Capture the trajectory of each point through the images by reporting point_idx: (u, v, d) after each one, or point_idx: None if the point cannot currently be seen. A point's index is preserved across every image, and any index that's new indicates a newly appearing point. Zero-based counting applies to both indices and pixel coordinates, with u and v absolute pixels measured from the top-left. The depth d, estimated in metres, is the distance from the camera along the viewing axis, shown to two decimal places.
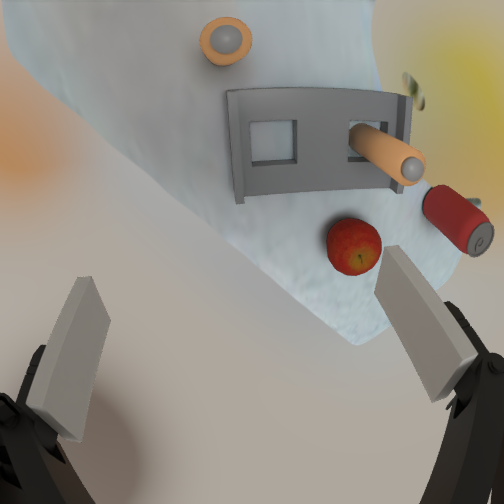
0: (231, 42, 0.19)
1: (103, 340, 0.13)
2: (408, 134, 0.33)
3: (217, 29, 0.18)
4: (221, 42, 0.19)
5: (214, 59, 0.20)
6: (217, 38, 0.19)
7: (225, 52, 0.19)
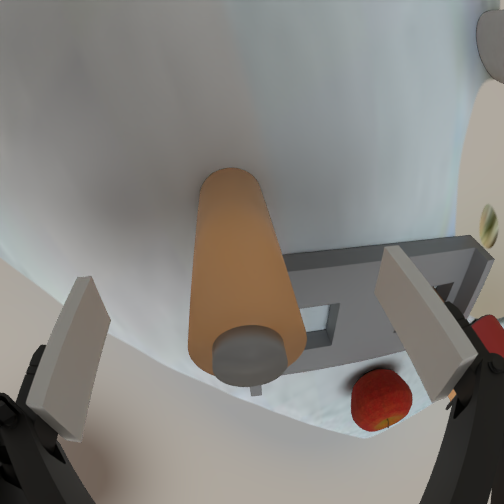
0: (262, 372, 0.10)
1: (103, 340, 0.13)
2: (474, 300, 0.23)
3: (228, 354, 0.09)
4: (239, 373, 0.10)
5: None
6: (229, 368, 0.09)
7: (248, 384, 0.10)
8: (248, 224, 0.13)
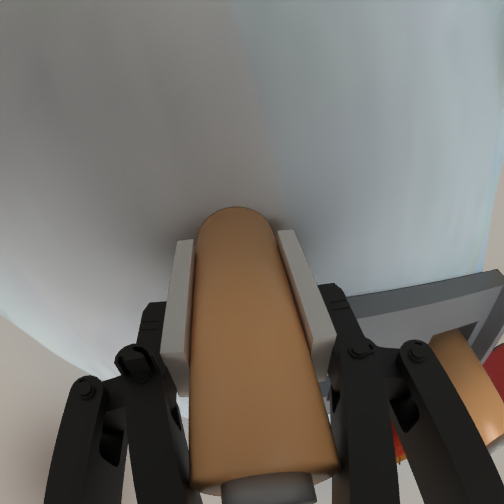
0: None
1: None
2: (498, 339, 0.20)
3: None
4: None
5: None
6: None
7: None
8: (264, 309, 0.09)
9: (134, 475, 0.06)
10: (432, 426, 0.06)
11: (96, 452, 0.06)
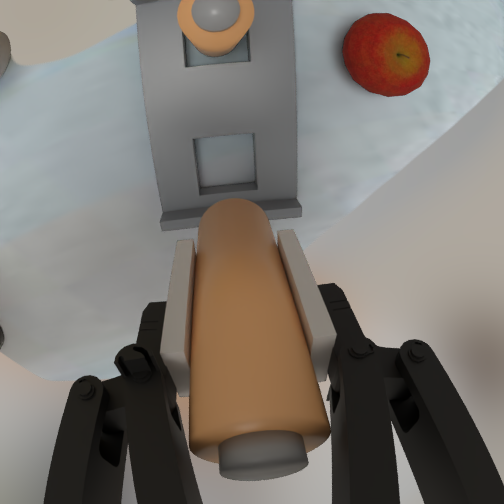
0: (277, 472, 0.07)
1: None
2: None
3: (239, 465, 0.06)
4: (251, 474, 0.07)
5: None
6: (240, 472, 0.07)
7: None
8: (259, 285, 0.10)
9: (134, 475, 0.06)
10: (432, 426, 0.06)
11: (97, 452, 0.06)
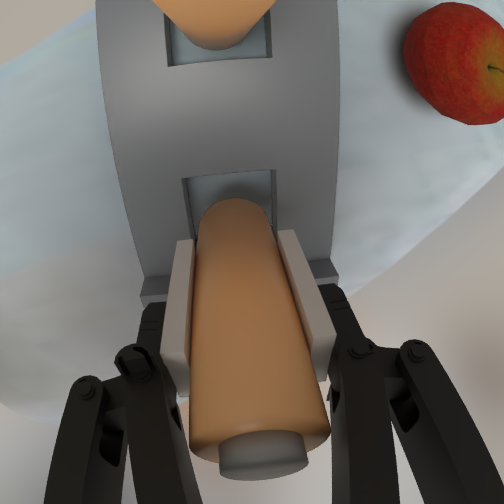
0: (277, 471, 0.07)
1: None
2: None
3: (239, 464, 0.06)
4: (251, 474, 0.07)
5: None
6: (240, 472, 0.07)
7: None
8: (259, 284, 0.10)
9: (134, 475, 0.06)
10: (432, 426, 0.06)
11: (96, 452, 0.06)
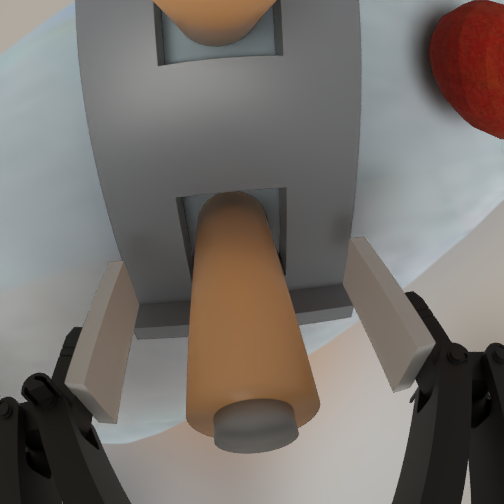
0: (269, 443, 0.08)
1: (133, 324, 0.13)
2: None
3: (232, 431, 0.07)
4: (244, 445, 0.08)
5: None
6: (233, 441, 0.08)
7: None
8: (253, 268, 0.11)
9: (61, 496, 0.05)
10: (500, 421, 0.06)
11: (25, 464, 0.05)
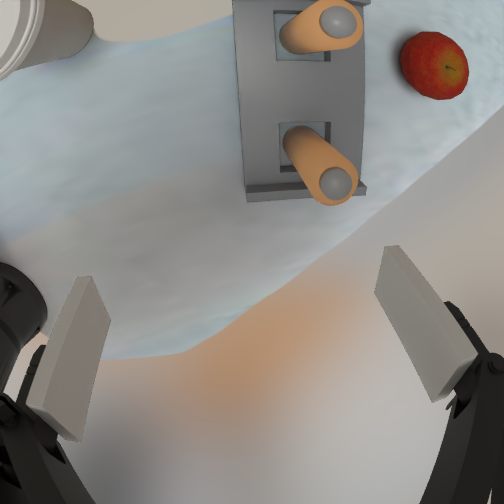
0: (341, 189, 0.22)
1: (103, 340, 0.13)
2: None
3: (330, 175, 0.21)
4: (332, 189, 0.22)
5: (320, 201, 0.23)
6: (329, 184, 0.22)
7: (334, 199, 0.23)
8: (324, 141, 0.26)
9: None
10: None
11: None
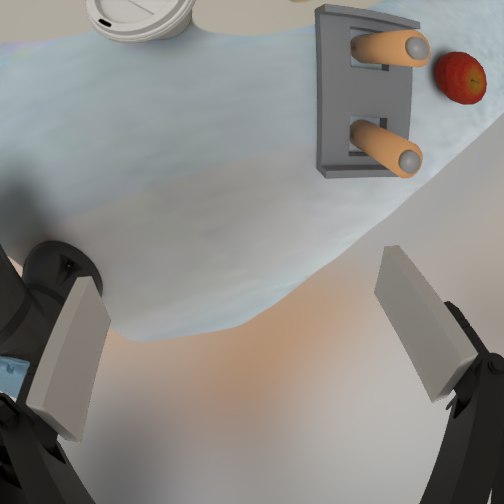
0: (413, 166, 0.28)
1: (103, 340, 0.13)
2: (364, 11, 0.25)
3: (407, 154, 0.27)
4: (408, 165, 0.28)
5: (398, 174, 0.29)
6: (406, 162, 0.27)
7: (408, 172, 0.28)
8: (391, 132, 0.31)
9: None
10: None
11: None
